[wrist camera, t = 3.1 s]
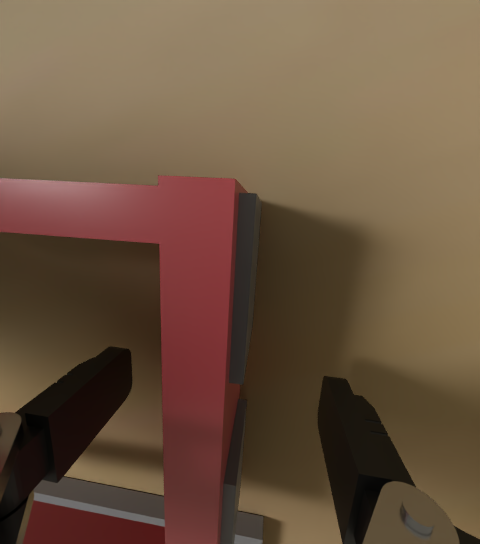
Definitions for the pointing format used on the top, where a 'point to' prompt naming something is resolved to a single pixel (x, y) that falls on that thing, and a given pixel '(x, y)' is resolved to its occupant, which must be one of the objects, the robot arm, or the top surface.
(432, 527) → the robot arm
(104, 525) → the red c-shaped frame
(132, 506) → the stand
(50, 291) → the top surface
